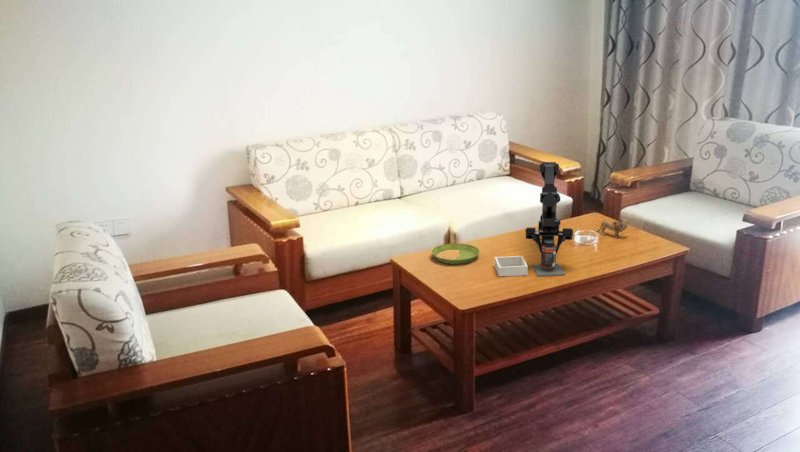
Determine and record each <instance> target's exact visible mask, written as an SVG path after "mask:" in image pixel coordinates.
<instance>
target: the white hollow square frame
mask: <svg viewBox="0 0 800 452" xmlns="http://www.w3.org/2000/svg"><path fill="white" fill-rule="evenodd" d="M494 268H495V270H497V271H496V273H497V275H498V277H499V276H501V277H500V278H502V276H505V277H521V276H523V275H525V276H528V274H529V273H528V271H529V270H528V269H529V266H528V264H527V262H526V260H525V258H524V257H523V255H513V256H494Z"/></svg>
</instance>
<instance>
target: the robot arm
mask: <svg viewBox="0 0 800 452" xmlns="http://www.w3.org/2000/svg"><path fill="white" fill-rule="evenodd" d="M559 165H560V164H559V163H557V162H556V161H542V162H541V163H540V164H539V173H540V178H541V179H542V181H543V182H544V183H543V184H544V185H543V186H542V188H541V192H540V193H539V202H540V204H542V207H541V215H540V218H539V219H540V220H538V226H537V227H538V229H536V227H526V228H525V239H526V240H532V241H533V242H535V243H536V245H537V248H538V249H539V253H540V254H541V248H542V246H543V245H544V241H545V240H548V239H550V240H554V241H555V237H557V241H556V244H555V243H554V245H555V246H556V254H558V253H559V250H560V247H561V245H562V243H563V242H566V241H571V240H573V236H574V230H573V228H571V227H569V228H568V227H567V228H565V227H564V228H562V230H560V225H561V216H557V208H558V207H557V205H558V203H560V202H561V195H560V194H559V193H558V188H557V187H556V186H555V180H556V179H557V176H558V173H560V172H559V170H560V166H559Z"/></svg>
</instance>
